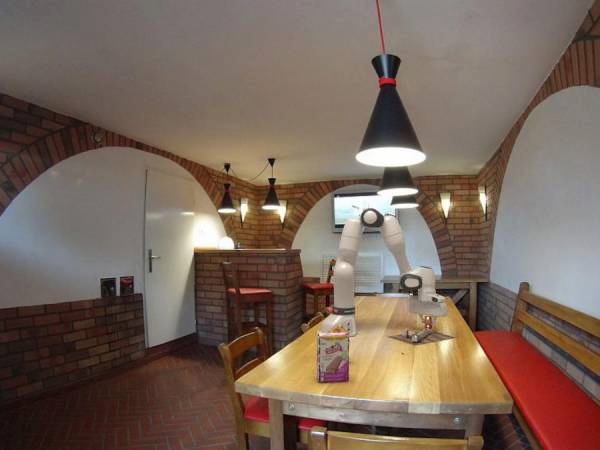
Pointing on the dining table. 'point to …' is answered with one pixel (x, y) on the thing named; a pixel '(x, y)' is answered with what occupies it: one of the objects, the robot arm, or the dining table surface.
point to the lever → (425, 331)
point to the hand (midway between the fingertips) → (427, 323)
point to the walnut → (411, 333)
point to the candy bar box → (332, 357)
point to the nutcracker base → (427, 339)
